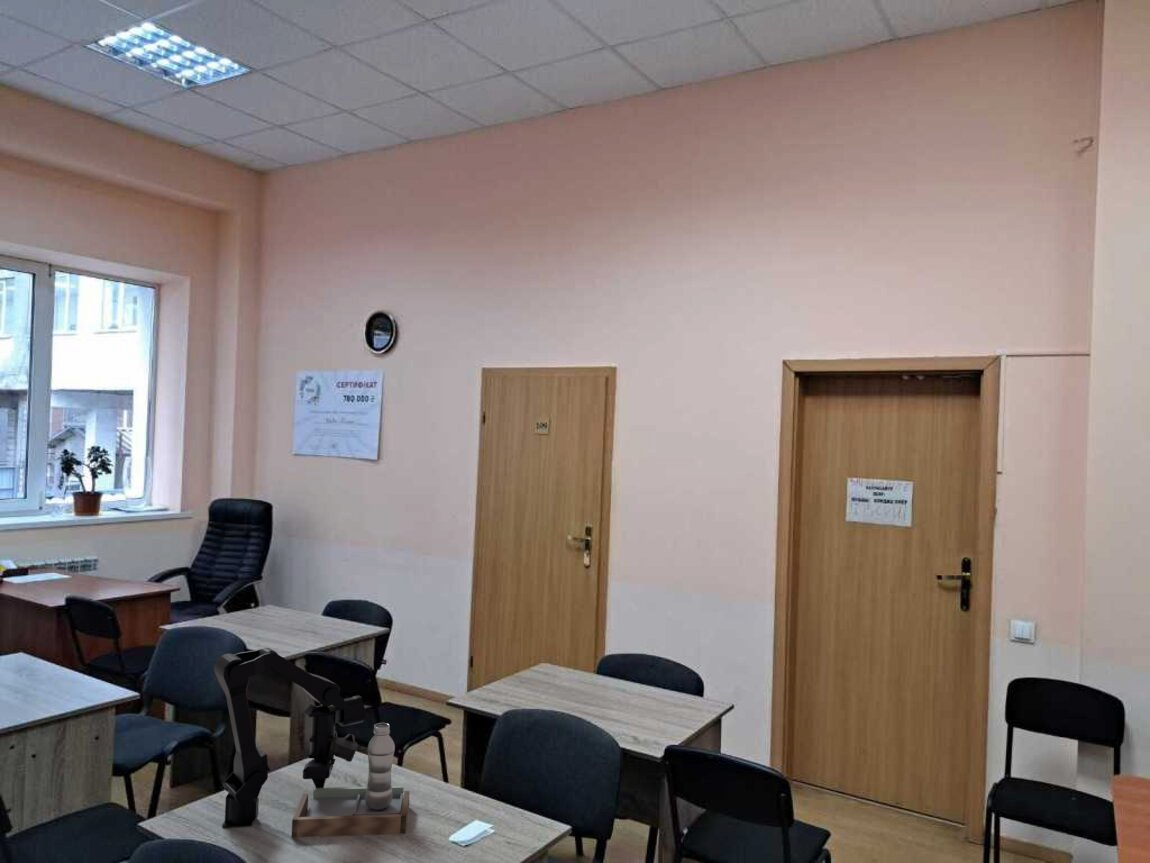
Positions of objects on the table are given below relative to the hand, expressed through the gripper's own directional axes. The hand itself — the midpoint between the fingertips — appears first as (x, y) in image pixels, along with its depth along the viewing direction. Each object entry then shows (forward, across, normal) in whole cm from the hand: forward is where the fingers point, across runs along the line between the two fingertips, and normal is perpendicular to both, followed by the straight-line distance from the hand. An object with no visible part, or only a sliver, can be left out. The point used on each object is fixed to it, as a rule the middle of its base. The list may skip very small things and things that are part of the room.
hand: (320, 792), depth 201 cm
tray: (+1, -8, -10) cm, 13 cm away
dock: (+1, -13, -9) cm, 16 cm away
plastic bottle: (+1, -8, -15) cm, 17 cm away
